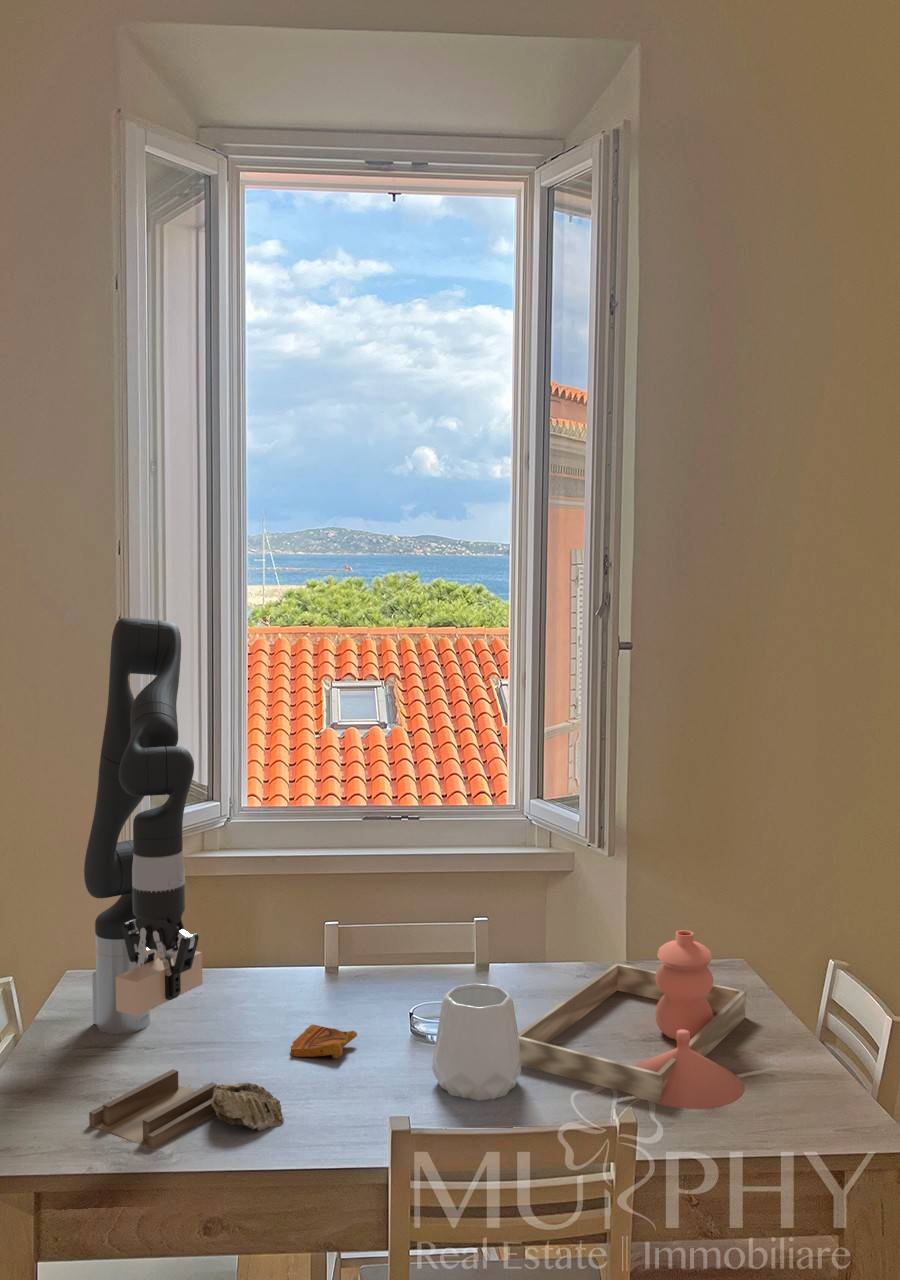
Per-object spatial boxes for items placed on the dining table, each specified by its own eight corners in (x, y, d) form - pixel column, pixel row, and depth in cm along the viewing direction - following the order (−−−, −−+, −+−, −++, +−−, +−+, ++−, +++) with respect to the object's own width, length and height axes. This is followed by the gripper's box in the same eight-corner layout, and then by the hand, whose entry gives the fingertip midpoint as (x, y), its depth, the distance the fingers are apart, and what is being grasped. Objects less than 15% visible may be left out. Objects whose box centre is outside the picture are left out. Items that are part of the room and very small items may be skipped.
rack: (89, 1130, 176) (89, 1104, 175) (169, 1088, 189) (168, 1063, 189) (152, 1155, 169) (152, 1128, 168) (230, 1109, 182) (230, 1084, 182)
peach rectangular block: (182, 979, 184) (181, 947, 184) (202, 984, 182) (201, 952, 182) (116, 1010, 172) (115, 977, 172) (137, 1016, 170) (136, 982, 170)
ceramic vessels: (753, 1124, 179) (755, 1002, 178) (612, 1111, 184) (612, 992, 182) (744, 1030, 214) (745, 927, 212) (625, 1021, 218) (625, 920, 216)
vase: (419, 1076, 194) (419, 985, 193) (498, 1061, 200) (499, 973, 198) (453, 1115, 181) (454, 1018, 180) (536, 1098, 187) (538, 1004, 185)
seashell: (274, 1158, 175) (285, 1102, 184) (286, 1126, 172) (296, 1071, 181) (199, 1139, 174) (214, 1085, 183) (210, 1107, 171) (224, 1053, 179)
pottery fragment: (341, 1046, 197) (286, 1030, 200) (337, 1073, 198) (281, 1056, 200) (361, 1025, 207) (308, 1009, 209) (357, 1050, 207) (304, 1034, 210)
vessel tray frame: (512, 1066, 198) (513, 1036, 198) (615, 988, 232) (615, 963, 232) (659, 1106, 184) (660, 1075, 184) (745, 1017, 219) (746, 991, 218)
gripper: (212, 883, 175) (213, 996, 177) (143, 868, 183) (145, 977, 184) (175, 895, 169) (177, 1013, 170) (105, 880, 176) (107, 993, 178)
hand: (160, 994), depth 177 cm, fingers closed on peach rectangular block, 4 cm apart
